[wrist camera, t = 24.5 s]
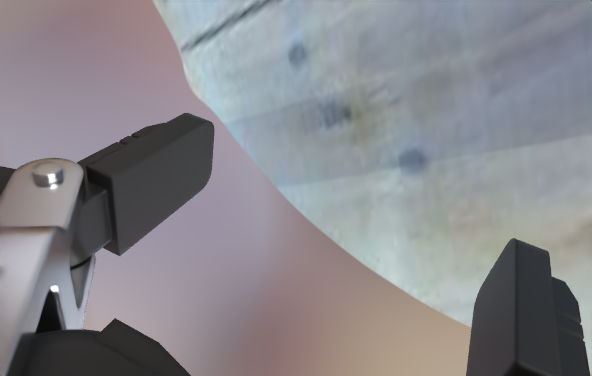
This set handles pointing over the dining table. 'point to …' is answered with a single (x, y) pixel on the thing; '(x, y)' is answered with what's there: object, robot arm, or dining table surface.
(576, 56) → the dining table surface
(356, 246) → the dining table surface
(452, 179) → the dining table surface
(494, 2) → the dining table surface
